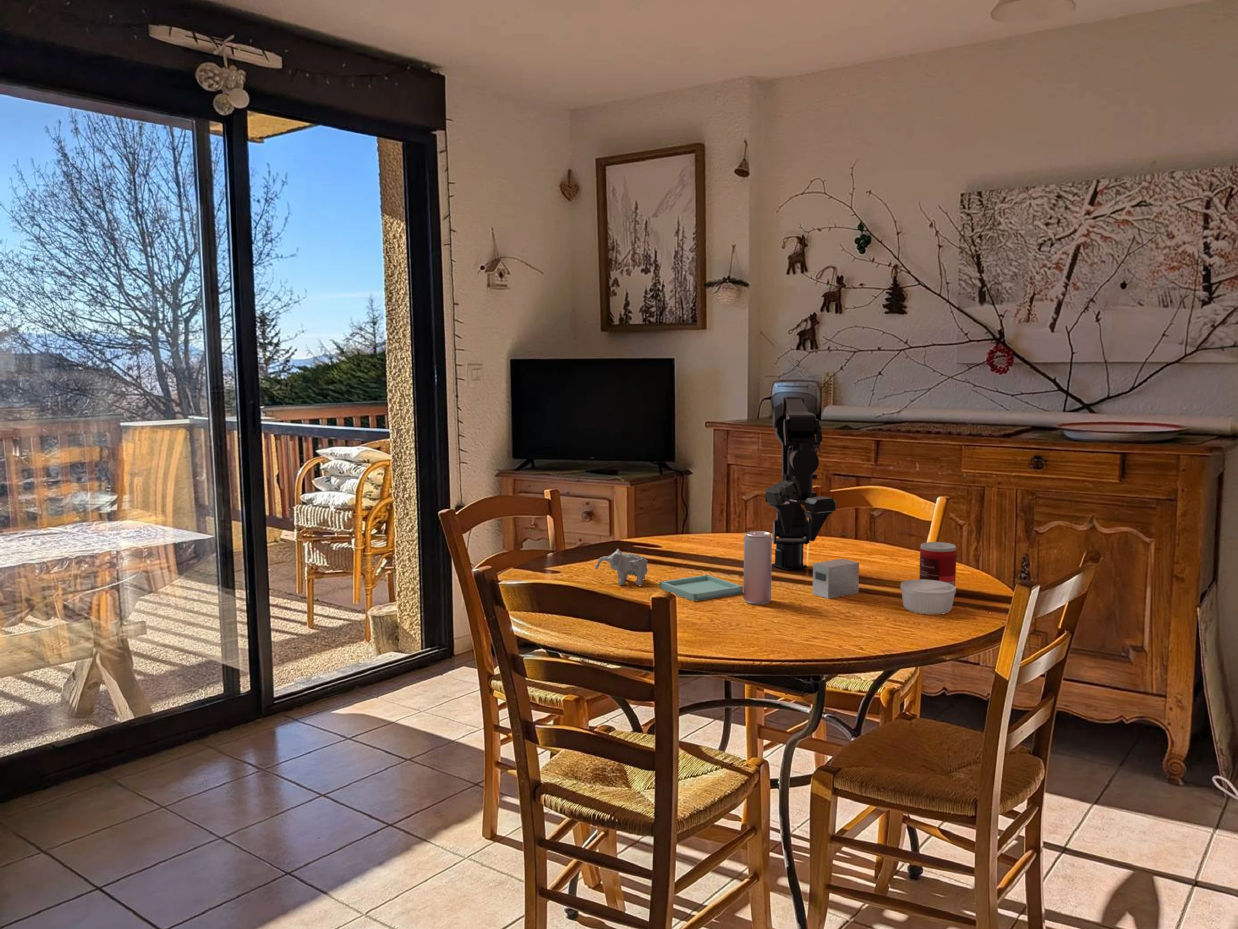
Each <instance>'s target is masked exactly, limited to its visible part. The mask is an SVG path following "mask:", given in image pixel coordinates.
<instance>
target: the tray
mask: <svg viewBox="0 0 1238 929" xmlns="http://www.w3.org/2000/svg"><path fill="white" fill-rule="evenodd" d="M658 582H659V585H658V586H659V588H661V589H662V590H661V589H660V590H661V591H664V590H667V591H666V592H667V593H669V592H673V593H675V594H676V595H675V594H674V595H675V596H677V597H680V598H683V597H684V598H683V599H685V598H687V599H686V600H688V599H690V600H689V601H691V600H693V601H694V602H696V601H695V600H700V601H705V600H704V599H706V600H711V598H712V599H719V598H723V597H730V596H737V595H741V594H743V585H741V584H736V583H734V582H731V581H729V580H725V579H722V578H718V577H715V576H712V575H709V574H703V575H696V576H690V577H683V578H676V579H671V580H669V579H668V580H665V581H664V580H663V581H658ZM678 595H679V596H678ZM681 596H682V597H681ZM693 601H692V602H693Z"/></svg>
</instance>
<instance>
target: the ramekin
mask: <svg viewBox="0 0 1238 929" xmlns="http://www.w3.org/2000/svg"><path fill="white" fill-rule="evenodd" d="M899 586H900V588H899V589H900V590H901V597H902V605H903V607H904V608H905V610H906V609H907V610H906V611H908V610H909V611H908V612H910V611H911V612H910V613H912V612H916V613H921V614H920V615H923V614H942V613H947V612H948V613H950V612H951V610H952V608H953V604H954V598H955V595H956V593H957V587H956V585H955V586H954V585H952V584H950V583H946V582H942V581H936V580H924V579H910V580H904V581H902V582H901V583H900V584H899ZM916 613H915V614H916ZM948 613H947V614H948Z"/></svg>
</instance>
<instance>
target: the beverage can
mask: <svg viewBox="0 0 1238 929" xmlns="http://www.w3.org/2000/svg"><path fill="white" fill-rule="evenodd" d="M772 550H773V541H772V533H771V532H767V531H762V530H751V531H746V532H745V533H744V538H743V585H742V586H743V593H742V594H743V600H744V602H745V603H746V604H748V605H749V604H750V605H759V606H760V605H766V604H769V603H770V602H771V600H772V569H773V568H772V567H773V566H772V564H773V563H772V562H773V561H772V560H773V559H772V558H773V554H772V553H773V552H772Z"/></svg>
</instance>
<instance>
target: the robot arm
mask: <svg viewBox="0 0 1238 929" xmlns="http://www.w3.org/2000/svg"><path fill="white" fill-rule="evenodd" d="M772 429H775V430H774V432H775V438H776V439H777V441H778V442H779V444H780V445H781V481H780V482H776V483H774V484H773V485H771V486H769V487H767V488H765V489H764V492H765V502H766V503H768V505H769V507H771V508H773V510H775V511H776V514H775V519H773V523H772V524H773V525H772V533H771V538H772V544H773V545H775V546H776V548H775V549H774V563H772V567H776V568H779V569H782V570H786V571H791V570H793V571H794V570H798V569H799V570H800V569H806V568H808V565H807V564H804V545H808V544H810V542H814V541H816V539H817V536H818V535H819V533H820V531H821V529H822V527H823V525H824V523H825V521H826V520H827V518H828V517H829V515H832V514H833V512H834V511H837V501H836V500H835V499H834V498H833V497H828V496H825V495H821V496H817V493H818V492H816V491H813V490H814V489H813V488H814V480H817V479H818V474H815V472H816V471H817V469H818V468H819V466H820V465H819V464H820V460H819V456H818V455H817V453H816V452H815V451H814V446H815V447H816V446H817V447H818V446H820V447H821V443H822V442H823V431H822V425H821V423H820V420H819V419H818V418H817V417H816V415H815V414H814V413H813V412H809V407H808V406H807V405H805V399H804V397H802V396H785V397H782V401H781V402H780V403H779V404H778V405H776V406H774V408H773V413H772ZM803 507H804V508H803Z"/></svg>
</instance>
